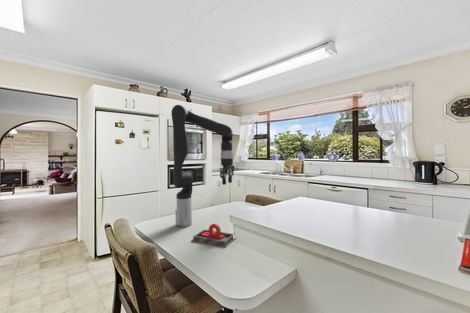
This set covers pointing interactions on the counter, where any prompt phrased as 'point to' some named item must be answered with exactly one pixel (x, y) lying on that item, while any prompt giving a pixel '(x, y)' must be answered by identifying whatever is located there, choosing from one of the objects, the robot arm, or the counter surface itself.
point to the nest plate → (222, 243)
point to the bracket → (213, 233)
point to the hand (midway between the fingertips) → (227, 183)
